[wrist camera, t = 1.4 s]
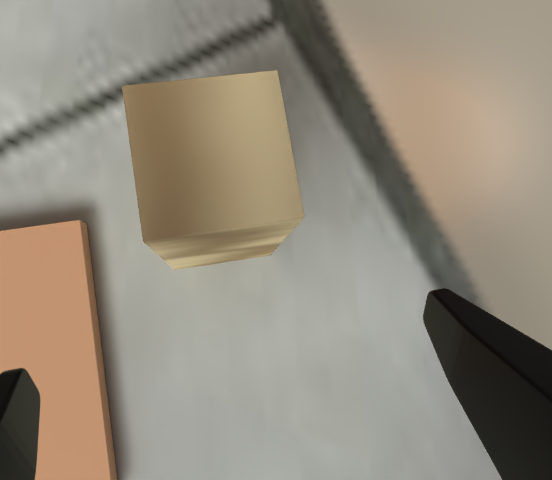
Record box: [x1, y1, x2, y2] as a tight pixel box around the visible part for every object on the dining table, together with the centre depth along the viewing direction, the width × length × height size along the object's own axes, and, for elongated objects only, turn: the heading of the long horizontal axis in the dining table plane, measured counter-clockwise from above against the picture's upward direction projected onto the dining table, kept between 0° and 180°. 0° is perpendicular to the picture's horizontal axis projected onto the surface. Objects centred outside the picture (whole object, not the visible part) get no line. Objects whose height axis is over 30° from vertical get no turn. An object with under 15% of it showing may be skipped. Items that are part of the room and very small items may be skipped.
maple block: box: [122, 70, 304, 270], centre depth 20 cm, size 5×5×10 cm
